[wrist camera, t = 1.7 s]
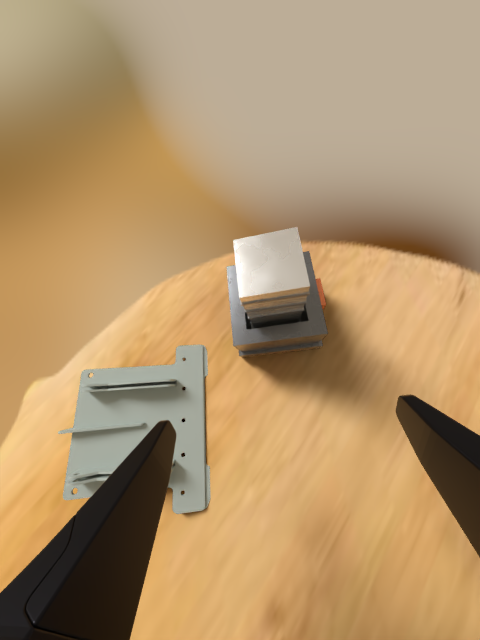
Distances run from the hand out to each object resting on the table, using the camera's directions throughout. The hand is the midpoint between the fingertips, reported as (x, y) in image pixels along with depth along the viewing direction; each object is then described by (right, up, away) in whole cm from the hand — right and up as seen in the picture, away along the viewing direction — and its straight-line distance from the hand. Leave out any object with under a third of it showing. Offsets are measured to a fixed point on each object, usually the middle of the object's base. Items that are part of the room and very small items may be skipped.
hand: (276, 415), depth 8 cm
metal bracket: (-11, -7, +14) cm, 19 cm away
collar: (+2, +4, +14) cm, 15 cm away
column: (+2, +5, +13) cm, 14 cm away
